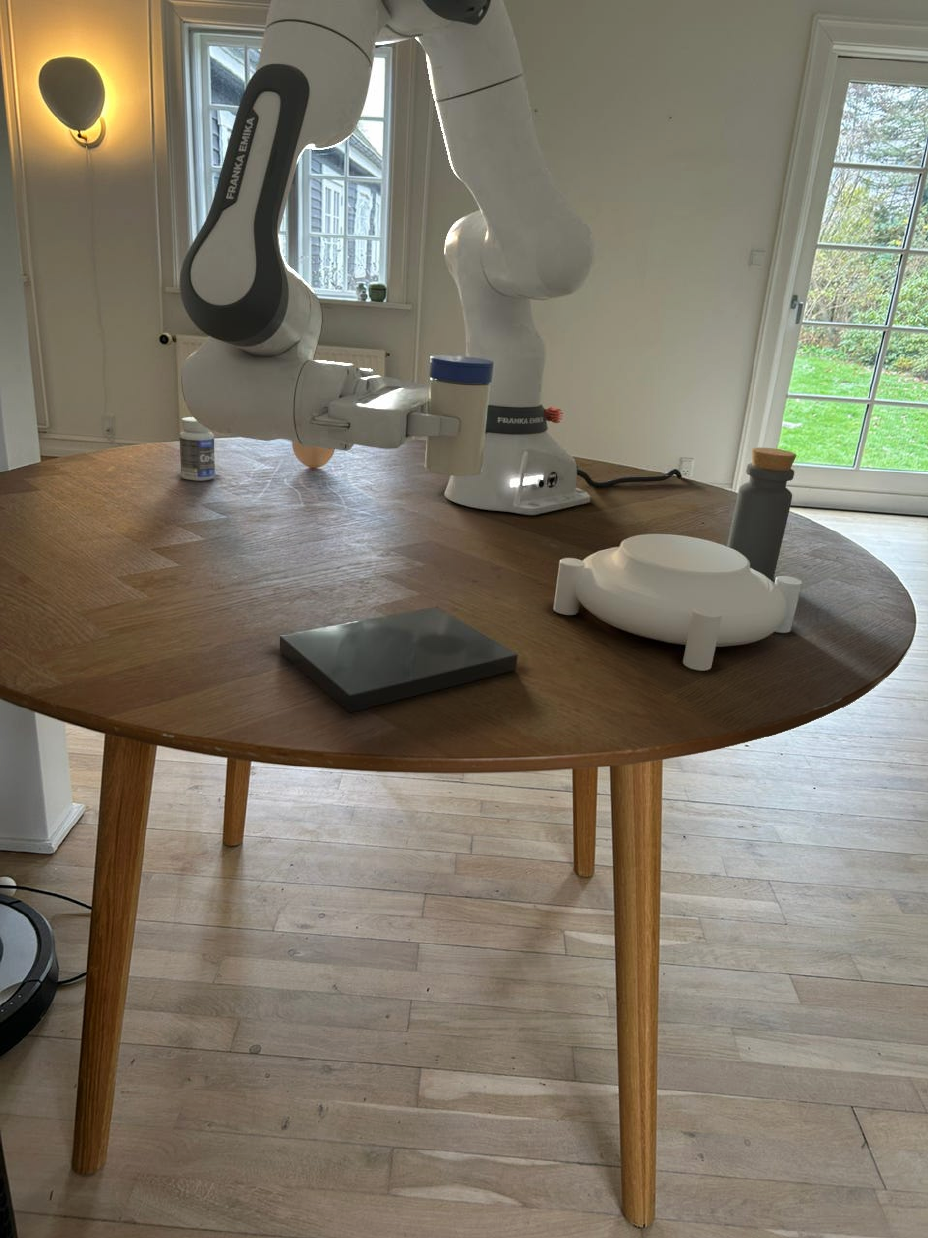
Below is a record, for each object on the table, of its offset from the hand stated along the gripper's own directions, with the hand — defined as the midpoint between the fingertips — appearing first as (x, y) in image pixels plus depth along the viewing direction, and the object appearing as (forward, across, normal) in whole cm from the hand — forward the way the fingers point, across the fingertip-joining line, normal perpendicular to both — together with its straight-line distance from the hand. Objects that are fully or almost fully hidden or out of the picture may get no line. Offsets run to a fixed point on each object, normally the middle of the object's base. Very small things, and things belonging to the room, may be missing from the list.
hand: (465, 421), depth 87 cm
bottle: (+33, +12, +17) cm, 39 cm away
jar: (-1, 0, +5) cm, 5 cm away
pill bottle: (-43, +27, +17) cm, 53 cm away
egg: (-30, +41, +17) cm, 54 cm away
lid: (-1, 0, -6) cm, 6 cm away
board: (0, -24, +16) cm, 29 cm away
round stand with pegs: (+24, -5, +17) cm, 29 cm away
